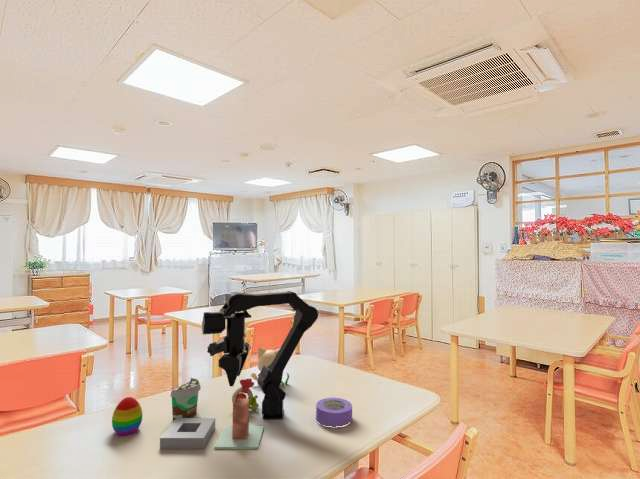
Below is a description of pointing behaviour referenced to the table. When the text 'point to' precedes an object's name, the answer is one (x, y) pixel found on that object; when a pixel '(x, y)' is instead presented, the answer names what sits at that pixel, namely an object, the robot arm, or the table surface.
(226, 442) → the board
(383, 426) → the table surface
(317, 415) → the tape roll
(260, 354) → the kitten
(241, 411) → the peg
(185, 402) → the food container
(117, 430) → the decorative egg
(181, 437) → the pocket block
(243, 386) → the bird rattle
